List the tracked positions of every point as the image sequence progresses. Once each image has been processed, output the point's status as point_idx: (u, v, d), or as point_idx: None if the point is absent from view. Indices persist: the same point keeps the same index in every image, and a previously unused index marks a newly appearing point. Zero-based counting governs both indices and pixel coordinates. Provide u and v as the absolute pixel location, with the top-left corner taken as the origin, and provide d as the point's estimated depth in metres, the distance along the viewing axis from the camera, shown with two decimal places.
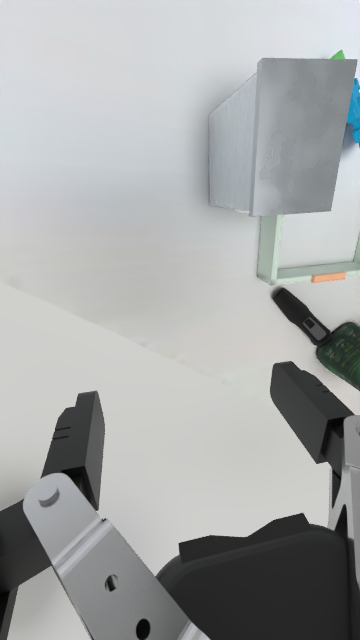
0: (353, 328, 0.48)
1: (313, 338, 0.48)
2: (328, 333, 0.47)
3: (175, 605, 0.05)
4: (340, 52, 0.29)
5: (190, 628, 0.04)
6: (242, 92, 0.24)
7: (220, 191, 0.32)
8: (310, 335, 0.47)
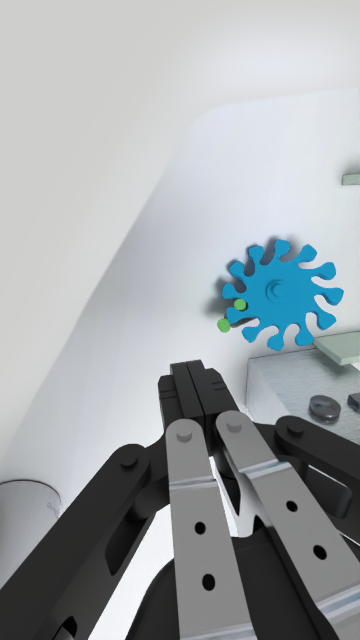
0: None
1: None
2: None
3: (242, 593, 0.05)
4: (221, 329, 0.25)
5: (246, 622, 0.05)
6: None
7: None
8: None
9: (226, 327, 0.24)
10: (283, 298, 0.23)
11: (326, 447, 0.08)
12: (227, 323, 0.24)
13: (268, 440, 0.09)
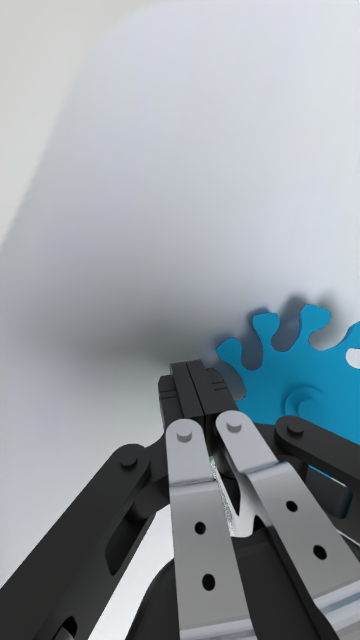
0: None
1: None
2: None
3: (242, 593, 0.05)
4: None
5: (246, 622, 0.05)
6: None
7: None
8: None
9: None
10: None
11: (326, 447, 0.08)
12: None
13: (268, 440, 0.09)
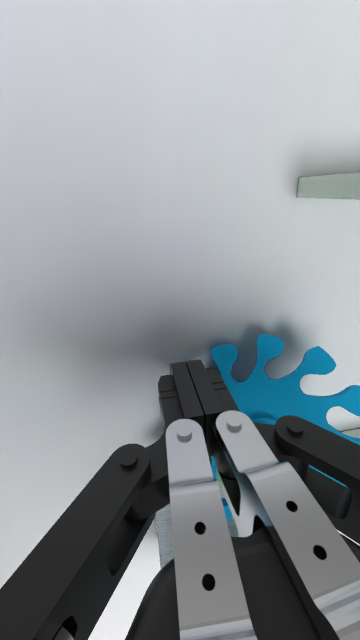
0: None
1: None
2: None
3: (242, 593, 0.05)
4: None
5: (246, 622, 0.05)
6: None
7: None
8: None
9: None
10: None
11: (326, 447, 0.08)
12: None
13: (268, 440, 0.09)
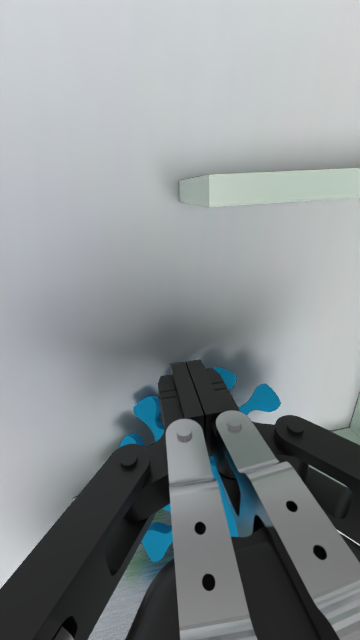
0: None
1: None
2: None
3: (242, 593, 0.05)
4: None
5: (246, 621, 0.05)
6: None
7: None
8: None
9: None
10: None
11: (326, 447, 0.08)
12: None
13: (268, 440, 0.09)
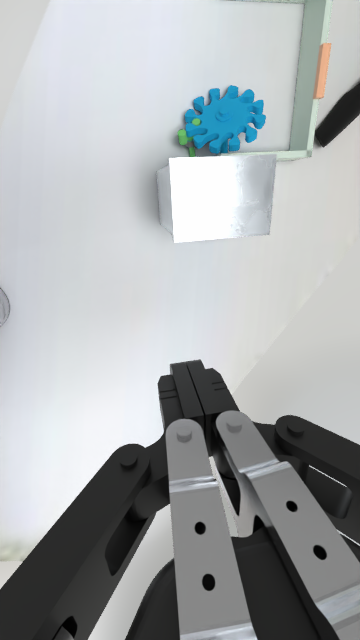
0: None
1: None
2: None
3: (242, 594, 0.05)
4: (180, 136, 0.34)
5: (246, 622, 0.05)
6: None
7: None
8: None
9: (183, 134, 0.34)
10: (225, 117, 0.33)
11: (326, 447, 0.08)
12: (184, 132, 0.34)
13: (268, 440, 0.09)
